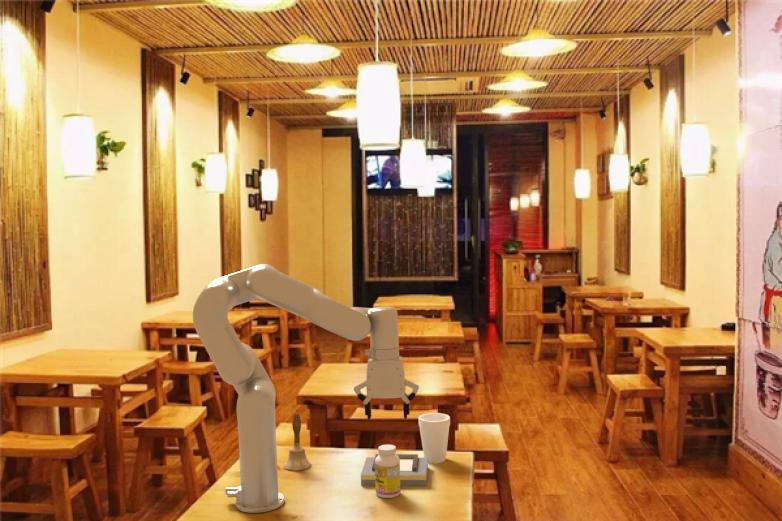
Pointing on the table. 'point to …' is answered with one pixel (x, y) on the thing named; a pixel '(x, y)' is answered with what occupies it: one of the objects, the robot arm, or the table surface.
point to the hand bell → (297, 449)
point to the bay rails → (403, 456)
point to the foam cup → (434, 436)
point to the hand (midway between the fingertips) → (387, 417)
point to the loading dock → (406, 472)
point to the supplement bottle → (387, 472)
